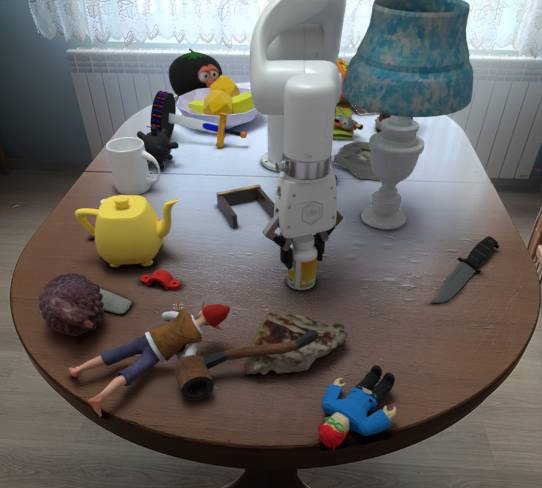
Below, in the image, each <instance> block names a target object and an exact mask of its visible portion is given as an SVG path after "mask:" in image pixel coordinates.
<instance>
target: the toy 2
mask: <svg viewBox="0 0 542 488" xmlns="http://www.w3.org/2000/svg"><path fill="white" fill-rule="evenodd" d="M382 375H383V369H382V368H381V367H380V366H379V365H375V364H374V365H373V366H372V367H371V369H370V370H369V371H368V372H367V373H366V374H365V375H364V377H363V378H362V380H361V381H360V382H359V383H357V384H356V385H355V386H353V387H351V388H350V390H349V393H348V395H347V396H346V397H344V398H341V395H342V392H343V388H344V387H345V386H346V385H347V384H346V382H343V381H344V378H343V377H338V378H336V379H335V380H334V382H333V384H329V385H328V386H327V387H326V389H325V392H324V394H323V399H322V402H321V408H322V410H323V411H324V412H325V413H327V414H329V415H330V416H327V417H324V418H323V419H324V420H323V422H322V423H321V424H318V427H317V429H318V431H317V433H318V436H319V441H321V443H322V444H323V445H324V447H326V448H329V449H331V448H332V452H334V451H335V448H336V447H337V448H338V447H339V446H340V445H342V443H343V441H344V440H345V438H346V437H347V436H348V434H349V431H351V432H356V433H359V434H360V435H361V436H365V437H368V436H371V435H375V434H378V433H381V432H383V431H385V430H387V429H389V428H390V427H391V421H392V420H393V419H394V418H395V417H396V415H397V407H396V406H393V407H392V410H388V409H387V408H388V406H387V405H384V406H383V407H382V408H383V409H382V408H381V409H379V410H377V411H375V412H374V413H371V415H369V416H368V413H369V412H371V411H374V410H375V409H377V408H379V405H380V402H381V401H382V399H383V398H384V397H385V396H386V395H387V394H388V393H390V392H391V391H392V389H393V387H394V385H395V382H396V379H395V375H394V374H393V373H391V372H390V371H388V372H385V373H384V375H383V377H382V378H381V376H382Z"/></svg>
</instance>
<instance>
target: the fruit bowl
mask: <svg viewBox="0 0 542 488" xmlns="http://www.w3.org/2000/svg"><path fill="white" fill-rule="evenodd" d="M176 109H178V111H179V112H180V113H181V114H182V116H185V117H190V118H194V119H198V120H203V121H207V122H211V123H216V124H219V119H220V113H221V112H222V113H226V114H228V115H227V120H226V129H229V130H230V129H232V128H234V127H239V126H240V125H243V124H247V123H250V122H252V121H254V119H255V118H256V116H257V115H259V113H260V112H258V111H257V110H256V108H255V107H254V105H253V102H252V98H251V89H250V88H244V87H239V86H238V85H237V84H236V83H235V82H234V81H233V80H232V79H231V78H230V77H229V76H228V75H224V74H222V75H221V76H220V77H219V78H218V79H217V80H216V81H215V82H214V83H212V84H211V85H210V88H202V89H196V90H193V91H191V92H188V93H186V94H184V95H181V96H179V97H178V99H177V101H176Z"/></svg>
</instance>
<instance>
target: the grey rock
mask: <svg viewBox="0 0 542 488" xmlns="http://www.w3.org/2000/svg"><path fill="white" fill-rule="evenodd" d="M370 158H371V150H370V148H369V141H363V140H354V141H352V142H350V143H345V144H344V145H342V146H341V147H340V148H339V150H338V152H337V153H336V154H335V155H334V156H333V158H332V159H333V160H332V162H333V163H334V164H336V165H338V166H341V167H342V168H344V169H346V170H348V171H349V172H351V174H353V175H355V177H356V178H358V179H360V180H365V179H367V180H373V181H375V182H381V180H380V179H379V178H377V177H376V176H375V174H374V173H373V171H372V168H371V162H370Z"/></svg>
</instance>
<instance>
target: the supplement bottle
mask: <svg viewBox="0 0 542 488" xmlns="http://www.w3.org/2000/svg"><path fill="white" fill-rule="evenodd" d="M313 235H314V234H310V235H306V236H301V237H297V238H293V241H292V244H291V246H290V248H291V249H292V250H293V260H292V268H291V269H288V268H287V267H286V270H287V271H286V283H287V284H288V286H289V287H290V288H292V289H293V290H298V291H306V290H310V289H311V288H313V287H314V286H315V284H316V278H317V277H316V276H317V263H318V261H317V249H316V247H315V246H314V236H313Z"/></svg>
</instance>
